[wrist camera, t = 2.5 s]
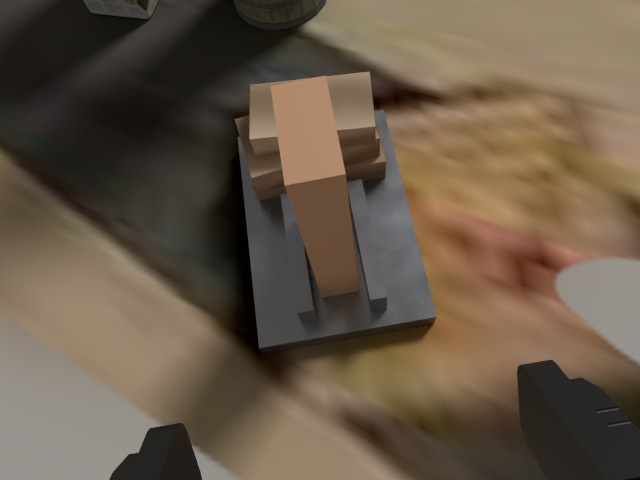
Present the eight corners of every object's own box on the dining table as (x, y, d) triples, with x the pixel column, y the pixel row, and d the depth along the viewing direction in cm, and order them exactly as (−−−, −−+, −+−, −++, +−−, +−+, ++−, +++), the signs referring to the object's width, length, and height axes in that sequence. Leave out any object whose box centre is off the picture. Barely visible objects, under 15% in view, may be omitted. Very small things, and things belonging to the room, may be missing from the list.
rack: (434, 323, 33) (440, 304, 29) (264, 353, 33) (249, 338, 29) (383, 122, 39) (383, 86, 36) (242, 148, 40) (228, 116, 36)
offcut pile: (387, 185, 35) (388, 135, 30) (255, 209, 36) (233, 164, 30) (371, 116, 38) (369, 59, 33) (247, 140, 38) (226, 87, 33)
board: (359, 290, 33) (345, 174, 20) (321, 297, 33) (284, 185, 20) (345, 221, 35) (325, 75, 22) (310, 227, 35) (270, 86, 22)
